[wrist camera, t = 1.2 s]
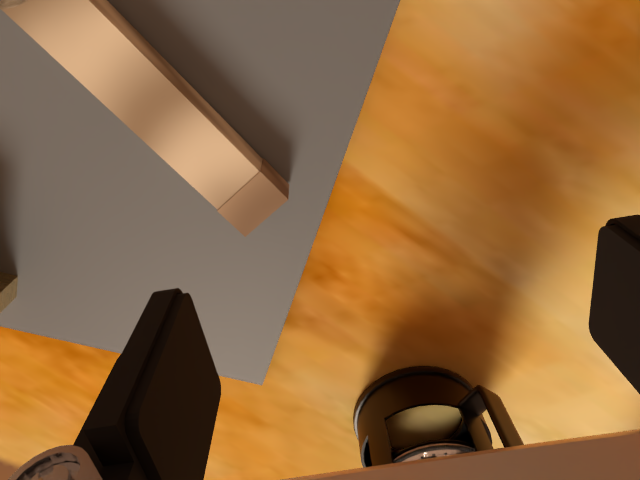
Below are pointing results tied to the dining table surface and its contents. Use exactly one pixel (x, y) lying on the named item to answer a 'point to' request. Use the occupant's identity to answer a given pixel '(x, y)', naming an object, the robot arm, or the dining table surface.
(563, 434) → the dining table surface
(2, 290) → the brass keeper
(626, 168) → the dining table surface
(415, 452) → the french press
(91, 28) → the beech link
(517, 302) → the dining table surface
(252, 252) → the charcoal board
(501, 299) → the dining table surface
